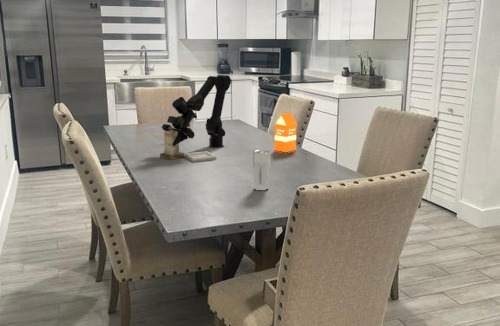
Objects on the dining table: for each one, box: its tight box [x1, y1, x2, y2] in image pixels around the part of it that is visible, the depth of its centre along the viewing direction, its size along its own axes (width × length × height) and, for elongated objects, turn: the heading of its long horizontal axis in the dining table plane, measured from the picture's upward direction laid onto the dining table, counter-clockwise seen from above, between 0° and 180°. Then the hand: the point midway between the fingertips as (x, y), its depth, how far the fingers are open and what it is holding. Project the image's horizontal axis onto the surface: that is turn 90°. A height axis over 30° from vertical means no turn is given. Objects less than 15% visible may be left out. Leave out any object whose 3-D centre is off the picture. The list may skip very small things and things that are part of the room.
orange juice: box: [274, 112, 297, 153], centre depth 256 cm, size 8×9×20 cm
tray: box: [184, 150, 217, 163], centre depth 240 cm, size 12×12×2 cm
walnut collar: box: [159, 151, 185, 161], centre depth 241 cm, size 8×8×2 cm
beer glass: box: [252, 149, 271, 191], centre depth 189 cm, size 7×7×15 cm
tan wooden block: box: [163, 130, 180, 155], centre depth 240 cm, size 5×5×13 cm
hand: (169, 144), depth 239 cm, fingers closed on tan wooden block, 5 cm apart
